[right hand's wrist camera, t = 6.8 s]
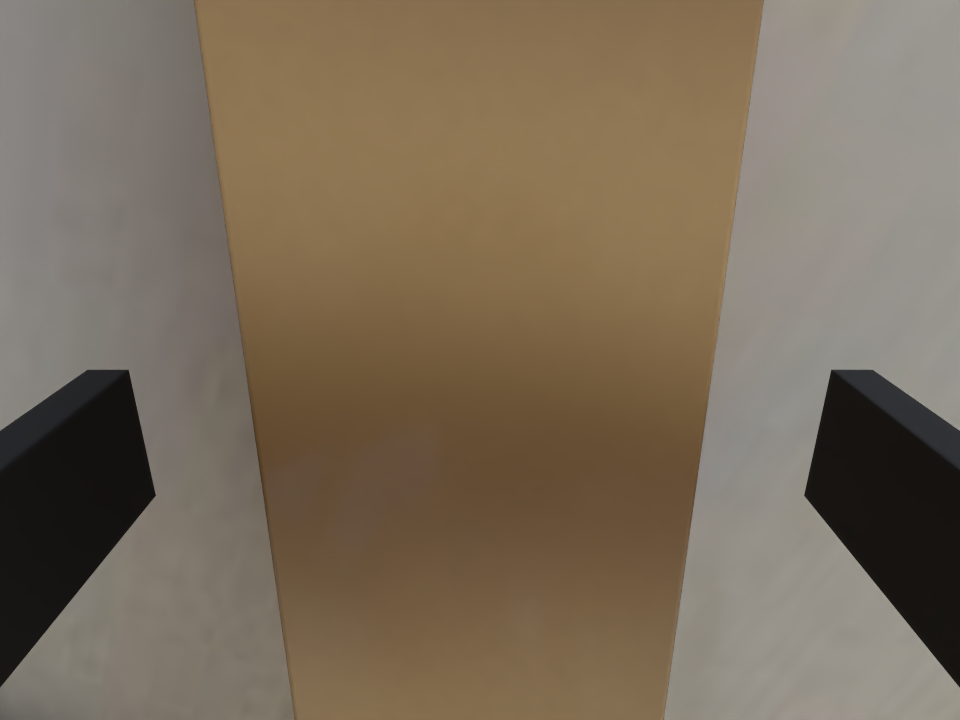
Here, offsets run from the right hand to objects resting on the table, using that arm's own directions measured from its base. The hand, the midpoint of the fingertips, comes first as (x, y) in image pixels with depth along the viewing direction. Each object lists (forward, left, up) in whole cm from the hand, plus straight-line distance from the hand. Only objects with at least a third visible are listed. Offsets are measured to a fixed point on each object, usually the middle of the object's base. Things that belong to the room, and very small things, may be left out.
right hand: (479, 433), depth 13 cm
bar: (+16, +12, -3) cm, 20 cm away
